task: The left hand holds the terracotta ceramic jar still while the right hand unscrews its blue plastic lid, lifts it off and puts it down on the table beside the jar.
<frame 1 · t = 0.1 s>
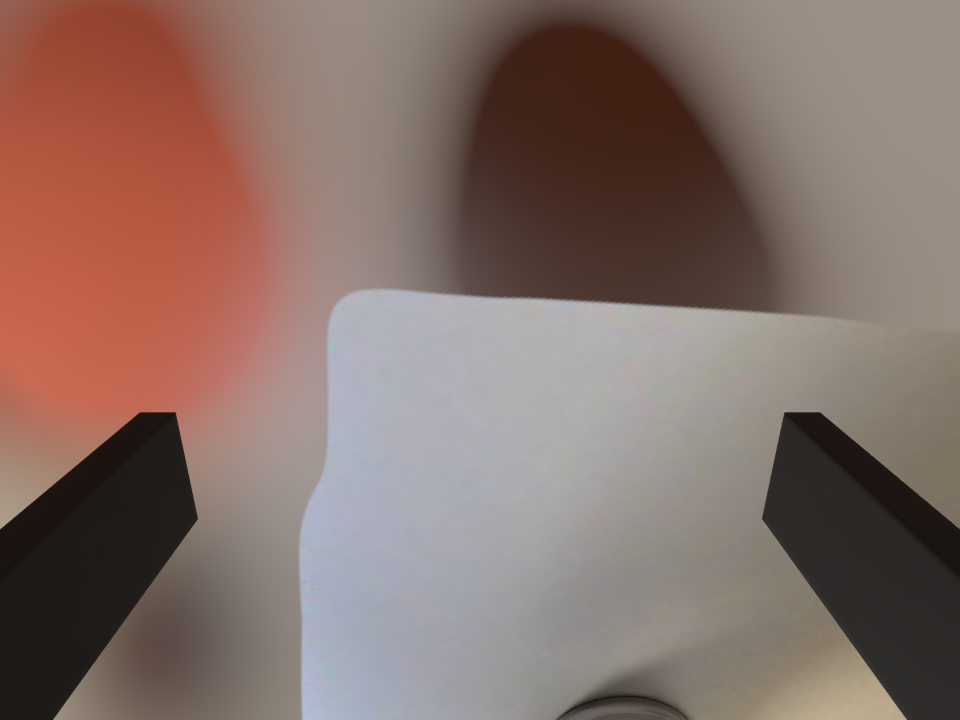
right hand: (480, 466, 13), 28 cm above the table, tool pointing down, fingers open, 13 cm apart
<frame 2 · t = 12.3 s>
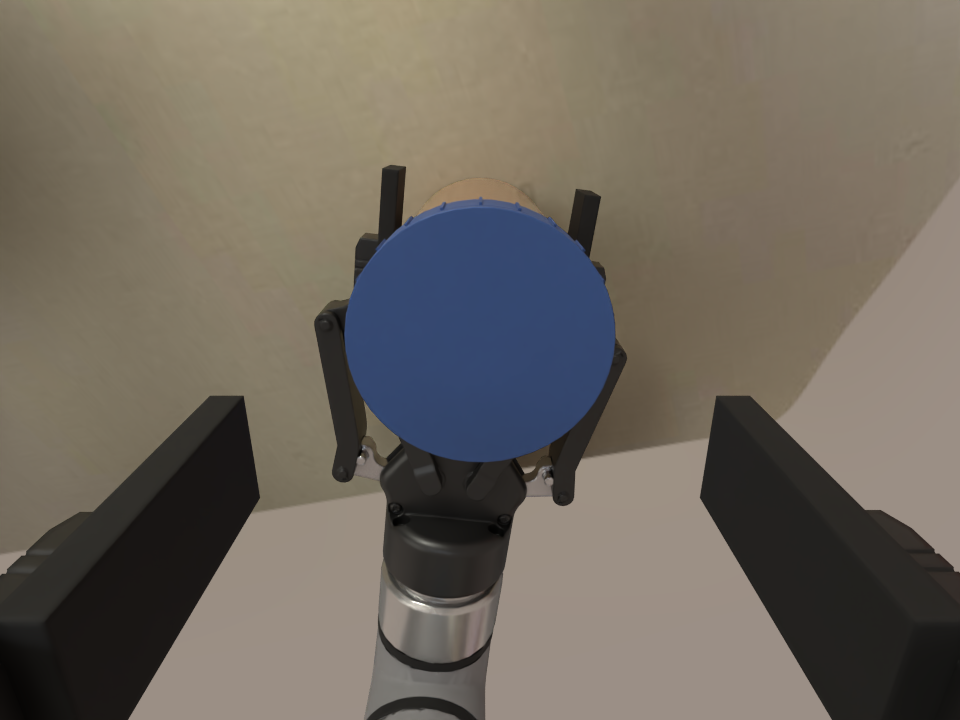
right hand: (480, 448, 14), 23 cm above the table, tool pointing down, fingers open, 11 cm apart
left hand: (491, 180, 28), fingers closed on jar, 9 cm apart
lid: (480, 342, 21), point 16 cm above the table, screwed on, not yet turned
jar: (480, 252, 35), on the table, touching left hand
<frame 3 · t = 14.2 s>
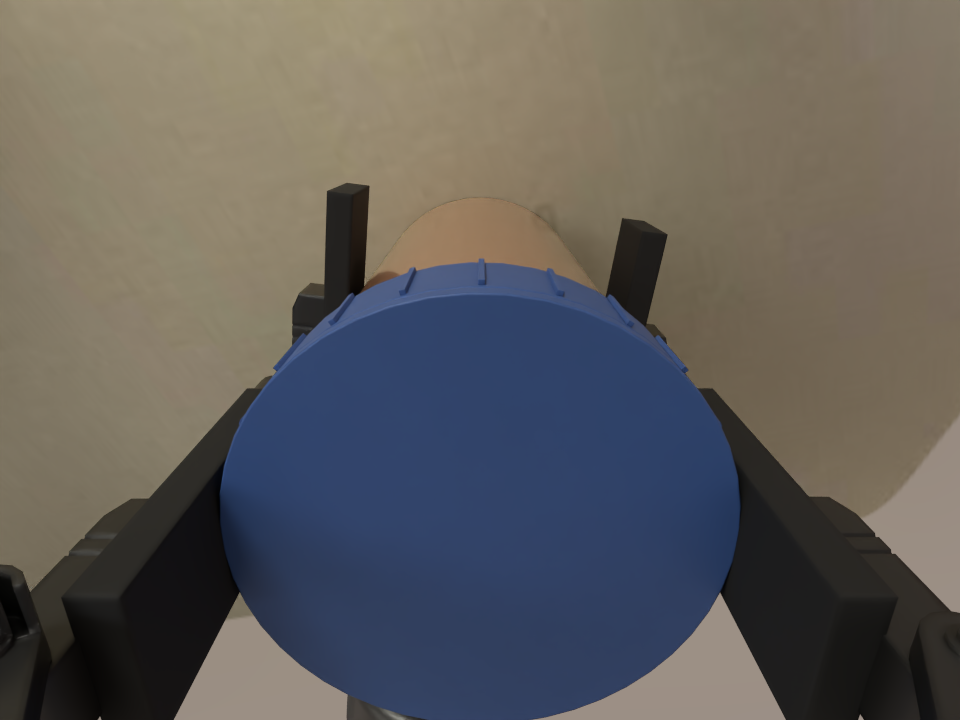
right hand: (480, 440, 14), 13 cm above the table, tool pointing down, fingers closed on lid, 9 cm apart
lid: (479, 531, 11), point 16 cm above the table, screwed on, not yet turned, touching right hand
jar: (479, 298, 26), on the table, touching left hand
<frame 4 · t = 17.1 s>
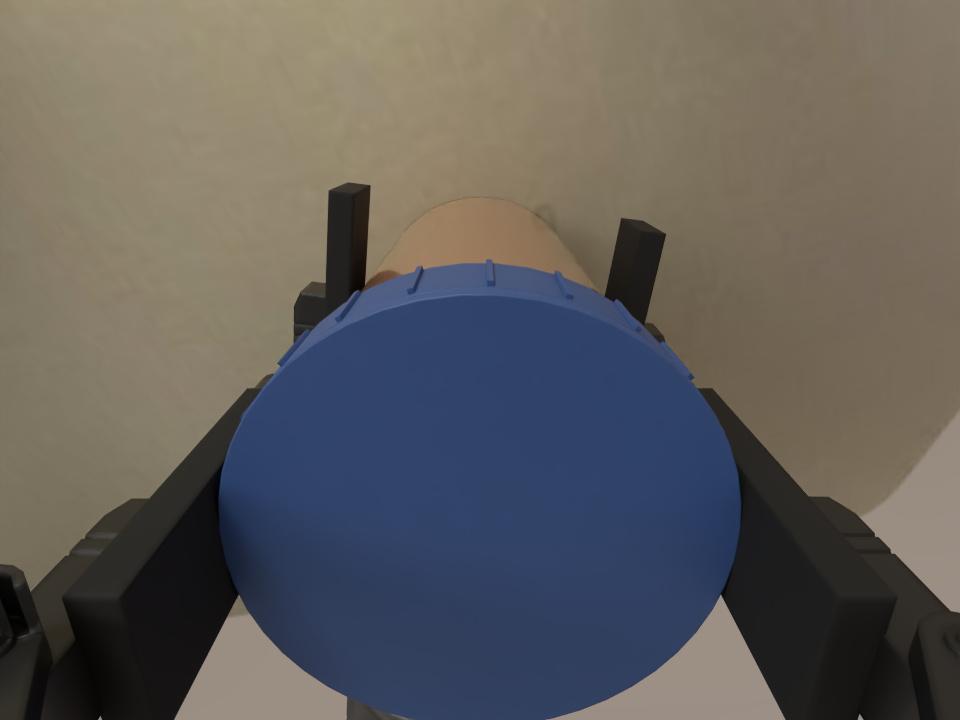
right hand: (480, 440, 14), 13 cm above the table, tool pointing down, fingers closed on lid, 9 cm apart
lid: (479, 533, 11), point 16 cm above the table, turned 77° so far, risen 0.2 cm, still on its thread, touching right hand
jar: (479, 297, 26), on the table, touching left hand
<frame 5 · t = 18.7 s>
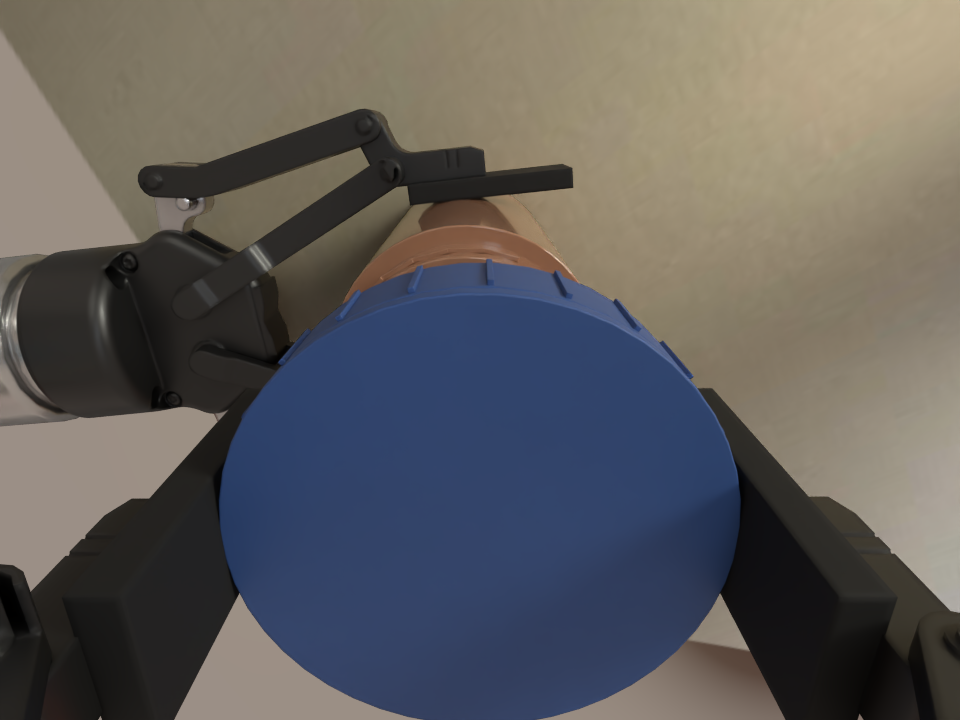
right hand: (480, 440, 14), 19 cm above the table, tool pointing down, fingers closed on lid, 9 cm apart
left hand: (572, 284, 26), fingers closed on jar, 9 cm apart
lid: (479, 531, 11), point 23 cm above the table, off its thread, touching right hand
jar: (468, 265, 32), on the table, touching left hand
when the right hand's fingers open (0 cm above the table, at t = 23.6 s): lid drops 2 cm, point 2 cm above the table.
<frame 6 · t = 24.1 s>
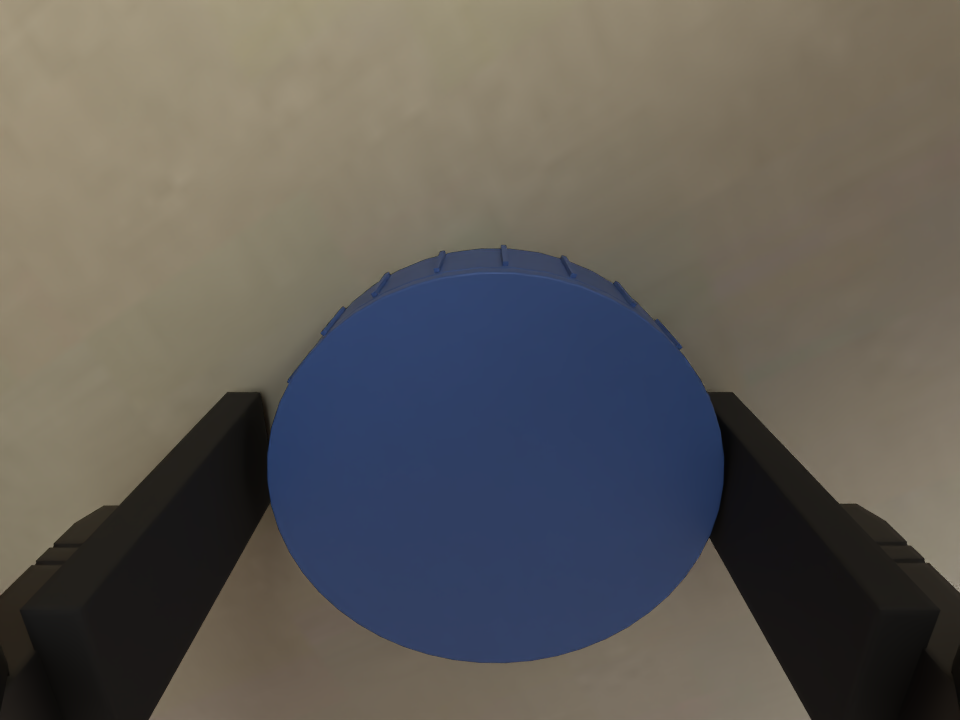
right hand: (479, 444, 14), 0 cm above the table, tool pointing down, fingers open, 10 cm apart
lid: (494, 485, 12), point 2 cm above the table, off its thread
when the left hand's fingers open (6 cm above the table, at t = 25.4 s): jar stays where it is, on the table.
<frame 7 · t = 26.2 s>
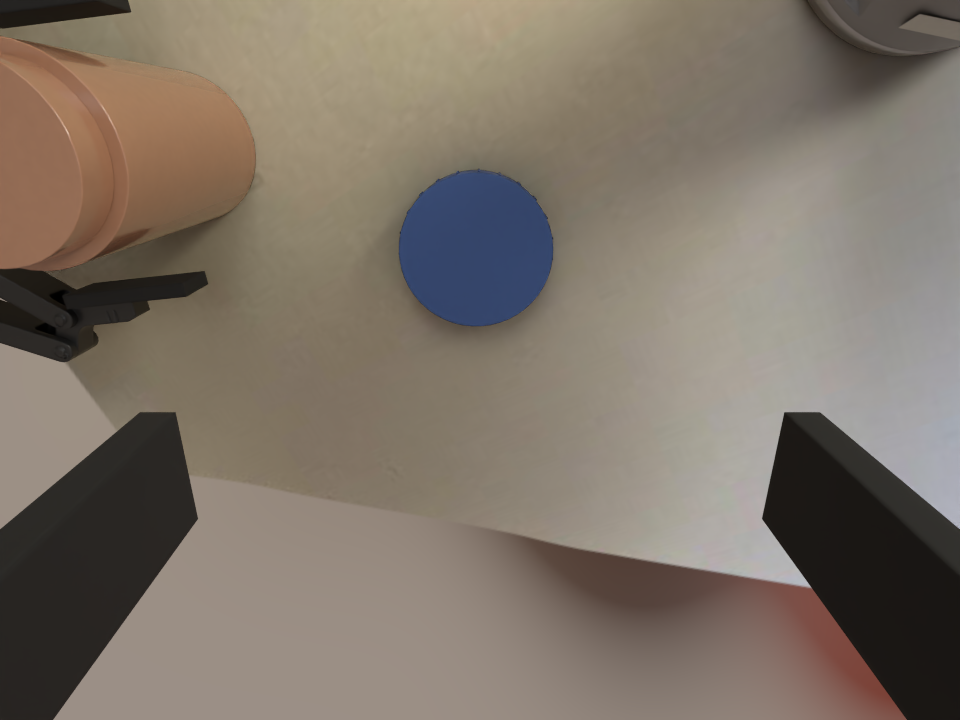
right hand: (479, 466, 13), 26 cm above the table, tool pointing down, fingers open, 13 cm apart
lid: (476, 252, 36), point 2 cm above the table, off its thread
jar: (184, 148, 35), on the table
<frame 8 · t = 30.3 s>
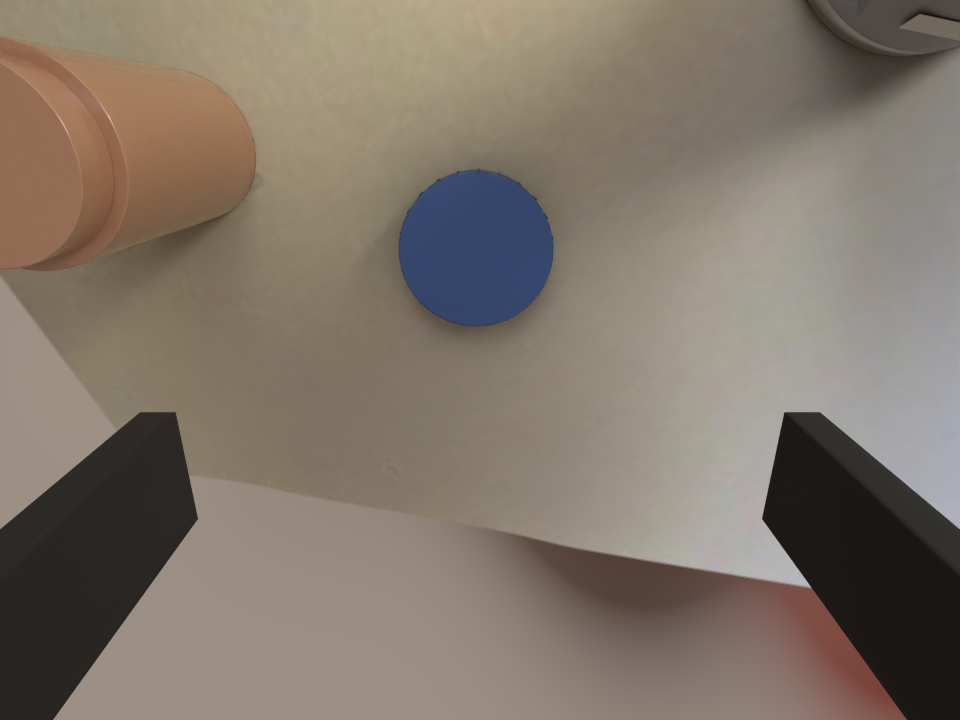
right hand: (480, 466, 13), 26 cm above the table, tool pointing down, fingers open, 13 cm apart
lid: (476, 252, 36), point 2 cm above the table, off its thread
jar: (184, 148, 35), on the table
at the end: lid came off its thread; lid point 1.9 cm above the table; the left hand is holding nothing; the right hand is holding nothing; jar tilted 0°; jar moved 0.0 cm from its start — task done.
